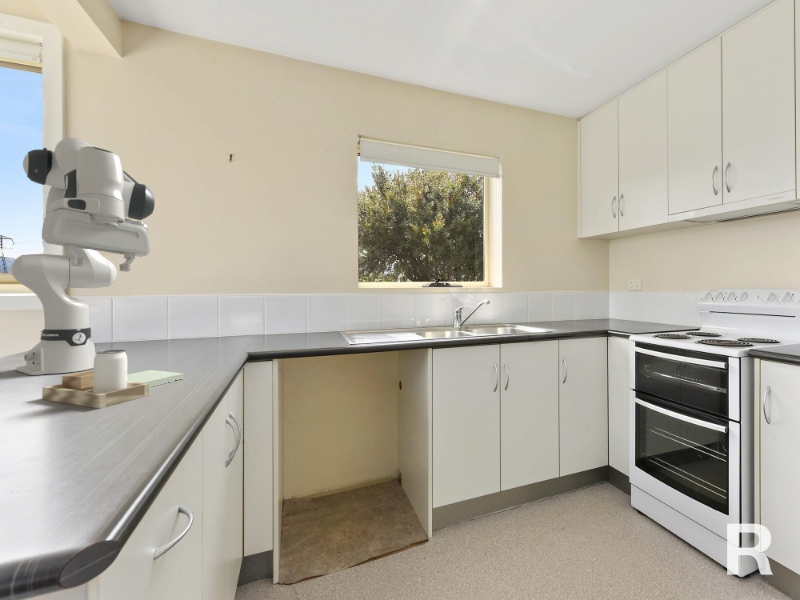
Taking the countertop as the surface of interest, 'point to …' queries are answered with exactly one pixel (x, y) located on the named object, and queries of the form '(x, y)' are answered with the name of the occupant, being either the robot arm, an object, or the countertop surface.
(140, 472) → the countertop surface
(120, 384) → the can
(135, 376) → the board
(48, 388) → the rack
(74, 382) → the offcut upper
